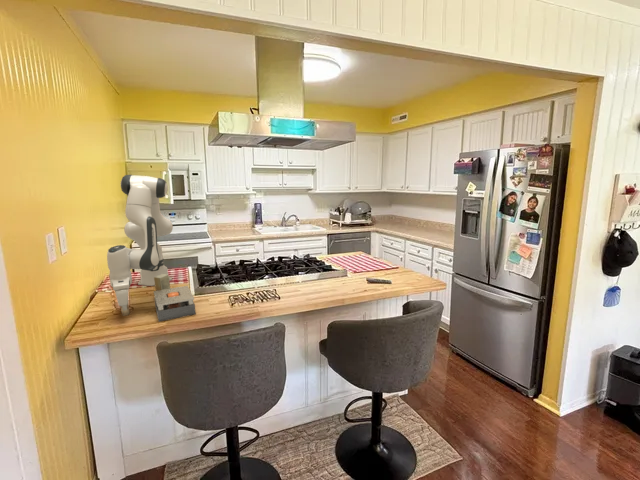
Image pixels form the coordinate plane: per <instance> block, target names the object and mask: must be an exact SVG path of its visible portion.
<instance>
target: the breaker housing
mask: <svg viewBox="0 0 640 480" xmlns="http://www.w3.org/2000/svg"><path fill="white" fill-rule="evenodd" d="M171 292H178V293H179V296H174V297H168V294H169V293H171ZM153 295H154V297H153V298H154V307H155V311H156V316H157V320H158V322H160V323H161V322H164V321H170V320H174V319H180V318H184V317H188V316H193V315H196V314H197V313H196V304H195V302H194V300H195V297H194V295H193V293H192V292H191V289H190V288H189V286H188V285H184V286H177V287H173V288H172V287H170V289H164V290H158V291H156V290H154V291H153Z"/></svg>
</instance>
